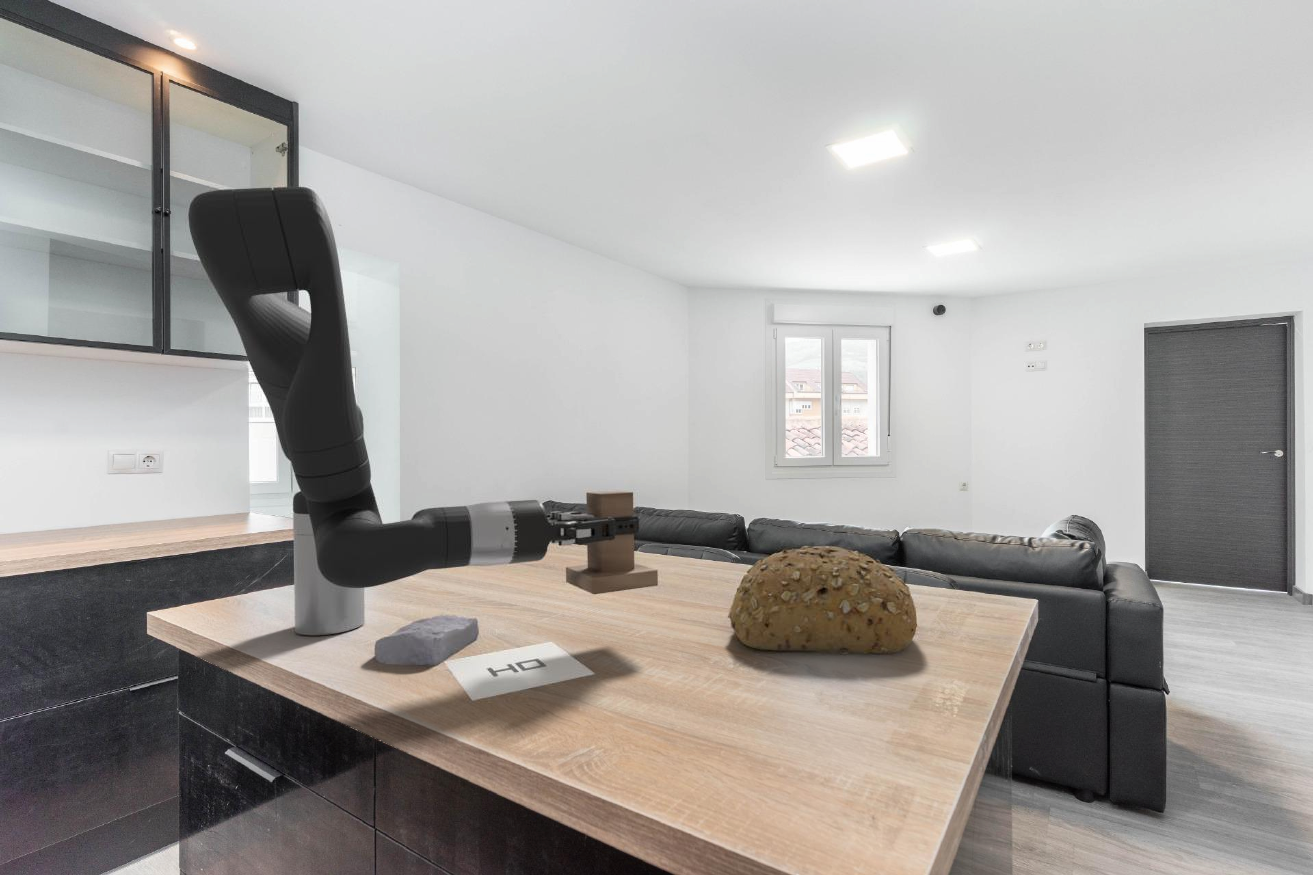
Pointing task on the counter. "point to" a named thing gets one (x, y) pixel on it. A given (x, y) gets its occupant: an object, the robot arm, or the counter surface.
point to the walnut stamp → (611, 551)
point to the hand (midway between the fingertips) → (627, 522)
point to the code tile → (515, 670)
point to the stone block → (427, 640)
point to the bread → (823, 603)
